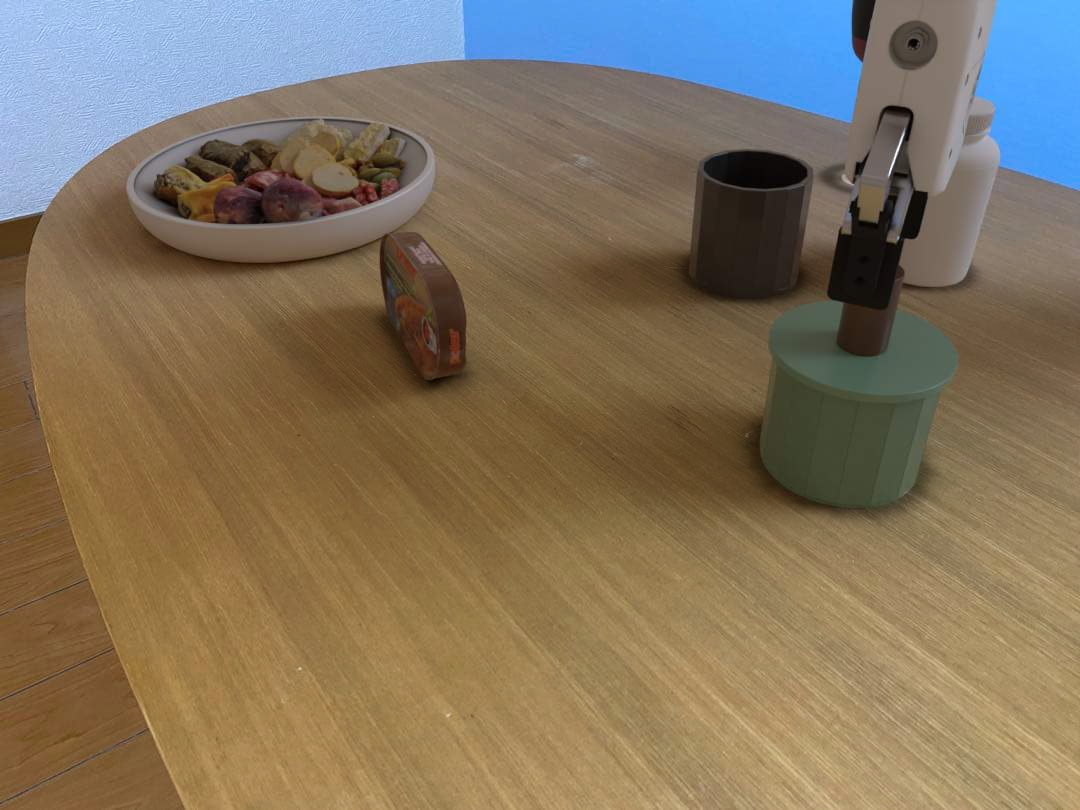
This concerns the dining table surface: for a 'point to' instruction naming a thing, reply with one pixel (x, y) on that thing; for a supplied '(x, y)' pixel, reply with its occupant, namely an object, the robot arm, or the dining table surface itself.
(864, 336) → the lid
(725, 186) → the cup
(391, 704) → the dining table surface
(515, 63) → the dining table surface
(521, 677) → the dining table surface
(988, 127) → the pill bottle
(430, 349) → the tin
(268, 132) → the bowl
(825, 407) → the can
